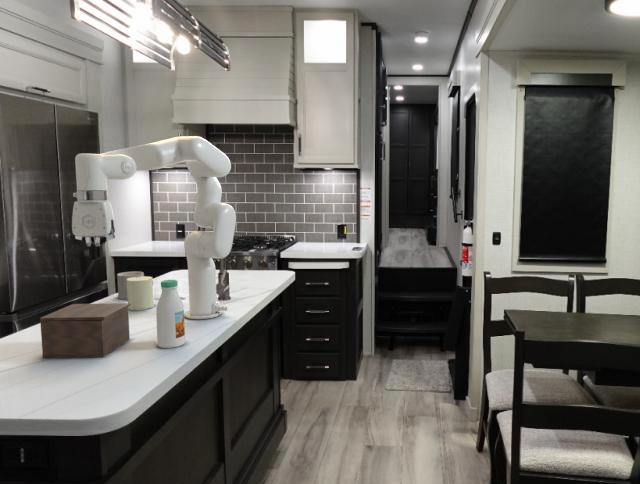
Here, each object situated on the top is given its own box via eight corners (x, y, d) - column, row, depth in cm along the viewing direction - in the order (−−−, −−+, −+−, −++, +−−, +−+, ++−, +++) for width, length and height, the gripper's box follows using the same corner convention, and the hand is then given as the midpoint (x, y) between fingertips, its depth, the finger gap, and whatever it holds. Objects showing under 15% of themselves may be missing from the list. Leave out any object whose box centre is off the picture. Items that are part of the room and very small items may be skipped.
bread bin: (129, 339, 156) (128, 306, 155) (103, 357, 140) (101, 320, 139) (75, 340, 155) (73, 306, 154) (42, 358, 139) (40, 320, 138)
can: (149, 303, 201) (148, 274, 200) (157, 307, 195) (156, 277, 193) (124, 306, 195) (123, 277, 193) (131, 311, 188) (130, 280, 187)
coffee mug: (115, 299, 206) (113, 276, 204) (122, 294, 215) (121, 271, 214) (149, 298, 209) (148, 275, 208) (155, 293, 218) (154, 271, 217)
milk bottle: (167, 350, 147) (164, 284, 145) (152, 345, 151) (149, 281, 149) (190, 343, 153) (188, 280, 151) (175, 338, 157) (173, 277, 155)
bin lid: (130, 305, 155) (130, 303, 155) (104, 319, 139) (104, 316, 139) (73, 306, 154) (72, 304, 153) (40, 320, 138) (39, 318, 138)
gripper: (57, 196, 138) (62, 261, 141) (112, 197, 139) (116, 261, 142) (73, 196, 146) (77, 257, 148) (125, 196, 147) (128, 257, 149)
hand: (96, 259), depth 145 cm, fingers closed
